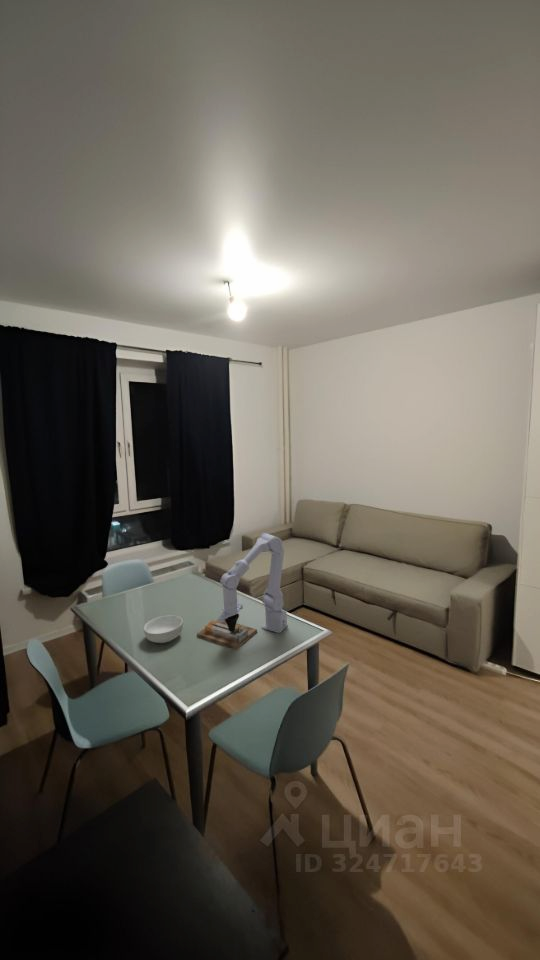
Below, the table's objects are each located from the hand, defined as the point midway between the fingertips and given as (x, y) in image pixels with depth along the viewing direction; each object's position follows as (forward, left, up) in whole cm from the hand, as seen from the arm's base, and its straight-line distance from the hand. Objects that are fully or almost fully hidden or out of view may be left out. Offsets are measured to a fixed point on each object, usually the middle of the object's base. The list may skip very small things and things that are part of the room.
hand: (231, 630), depth 166 cm
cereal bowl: (+29, +12, -6) cm, 32 cm away
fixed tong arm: (+5, -2, -4) cm, 6 cm away
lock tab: (0, -3, 0) cm, 3 cm away
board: (+6, -4, -5) cm, 9 cm away
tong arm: (+6, -3, -4) cm, 7 cm away
